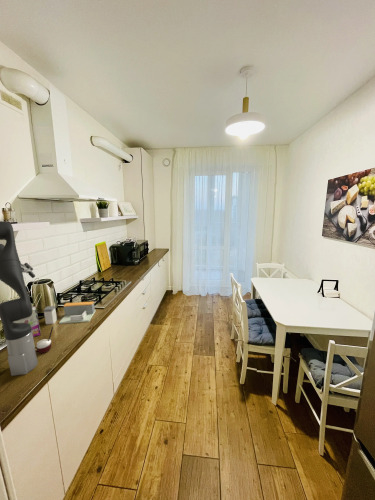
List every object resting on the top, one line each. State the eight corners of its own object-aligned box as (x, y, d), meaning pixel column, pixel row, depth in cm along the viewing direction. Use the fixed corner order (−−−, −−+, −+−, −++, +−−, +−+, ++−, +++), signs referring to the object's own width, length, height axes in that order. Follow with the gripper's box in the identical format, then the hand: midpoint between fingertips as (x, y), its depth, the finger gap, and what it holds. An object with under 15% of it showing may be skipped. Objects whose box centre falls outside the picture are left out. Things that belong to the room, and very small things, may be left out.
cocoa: (32, 356, 103) (27, 335, 100) (39, 347, 109) (34, 327, 106) (53, 353, 104) (48, 333, 101) (58, 345, 110) (54, 325, 107)
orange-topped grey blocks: (89, 321, 133) (87, 309, 131) (59, 323, 131) (57, 311, 129) (95, 311, 146) (94, 300, 145) (68, 312, 144) (67, 302, 142)
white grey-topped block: (53, 323, 131) (51, 309, 129) (45, 324, 130) (43, 309, 128) (57, 319, 135) (54, 305, 133) (49, 320, 135) (47, 306, 133)
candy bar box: (40, 331, 123) (35, 305, 120) (41, 335, 119) (36, 309, 116) (16, 338, 116) (10, 312, 113) (16, 343, 112) (10, 315, 109)
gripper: (0, 260, 116) (21, 281, 118) (22, 252, 129) (41, 272, 132) (-7, 267, 118) (14, 288, 120) (15, 259, 131) (34, 278, 134)
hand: (28, 279), depth 126 cm, fingers open, 8 cm apart
